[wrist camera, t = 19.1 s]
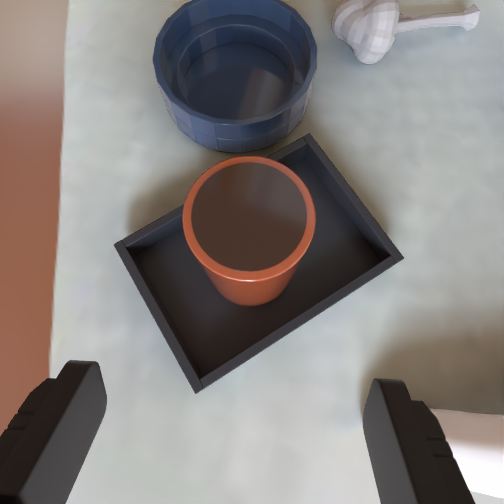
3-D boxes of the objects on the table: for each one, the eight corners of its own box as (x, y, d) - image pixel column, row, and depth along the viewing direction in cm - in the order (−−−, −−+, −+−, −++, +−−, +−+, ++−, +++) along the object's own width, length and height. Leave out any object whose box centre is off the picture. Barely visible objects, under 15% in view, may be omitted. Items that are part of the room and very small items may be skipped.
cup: (263, 209, 26) (269, 132, 17) (309, 277, 25) (343, 235, 15) (193, 251, 25) (157, 194, 16) (236, 323, 24) (225, 308, 15)
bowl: (259, 14, 31) (260, -34, 27) (336, 111, 29) (349, 74, 25) (141, 73, 30) (125, 32, 26) (212, 182, 27) (205, 154, 23)
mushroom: (513, 9, 26) (358, 12, 24) (474, 70, 30) (338, 77, 28) (466, -37, 29) (326, -37, 27) (436, 23, 33) (312, 27, 31)
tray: (305, 151, 28) (309, 132, 25) (390, 266, 25) (404, 258, 23) (126, 254, 26) (113, 244, 23) (201, 389, 23) (195, 394, 21)
